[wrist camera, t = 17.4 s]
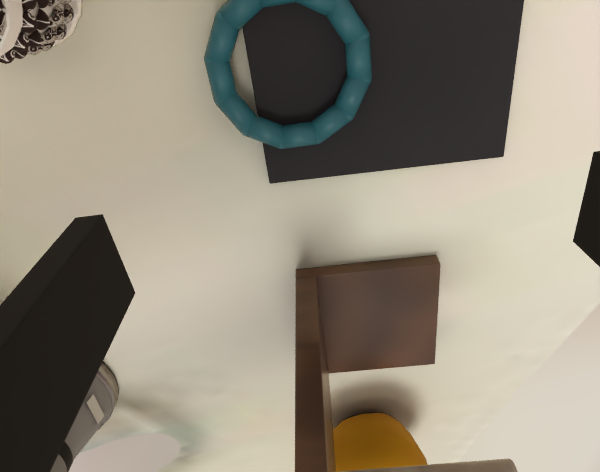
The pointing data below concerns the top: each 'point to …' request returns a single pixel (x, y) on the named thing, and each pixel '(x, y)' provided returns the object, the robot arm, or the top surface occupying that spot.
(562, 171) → the top surface
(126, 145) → the top surface
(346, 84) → the ring
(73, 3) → the decorative candle
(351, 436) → the apple
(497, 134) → the mat
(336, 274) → the hook board
